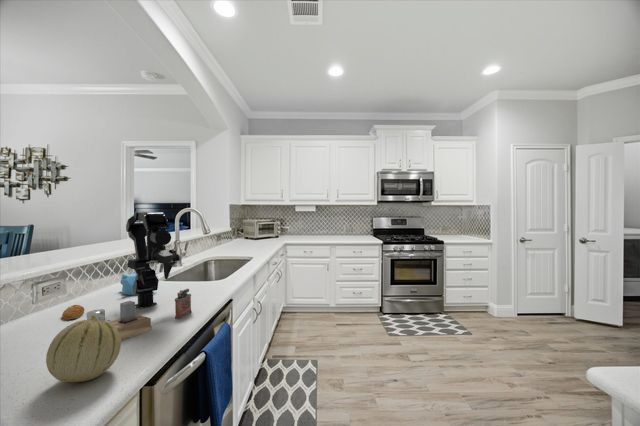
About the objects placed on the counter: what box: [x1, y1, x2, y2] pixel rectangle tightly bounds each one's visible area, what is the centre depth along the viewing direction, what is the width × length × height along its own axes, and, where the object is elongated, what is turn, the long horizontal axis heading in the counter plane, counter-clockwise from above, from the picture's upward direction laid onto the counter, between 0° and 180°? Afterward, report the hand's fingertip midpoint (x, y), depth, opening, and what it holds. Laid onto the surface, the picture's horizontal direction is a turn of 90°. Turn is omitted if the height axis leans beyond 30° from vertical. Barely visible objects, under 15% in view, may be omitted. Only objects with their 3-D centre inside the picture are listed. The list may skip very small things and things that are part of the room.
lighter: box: [174, 288, 192, 320], centre depth 117 cm, size 8×3×10 cm, turn 168°
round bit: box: [86, 308, 106, 321], centre depth 105 cm, size 5×5×6 cm
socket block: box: [108, 313, 152, 342], centre depth 101 cm, size 10×10×4 cm
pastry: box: [61, 304, 85, 321], centre depth 116 cm, size 9×7×4 cm
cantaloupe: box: [45, 315, 122, 383], centre depth 74 cm, size 15×15×15 cm
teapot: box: [119, 271, 159, 296], centre depth 151 cm, size 15×15×11 cm
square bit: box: [119, 300, 136, 324], centre depth 101 cm, size 3×3×10 cm
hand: (155, 281), depth 119 cm, fingers open, 9 cm apart
